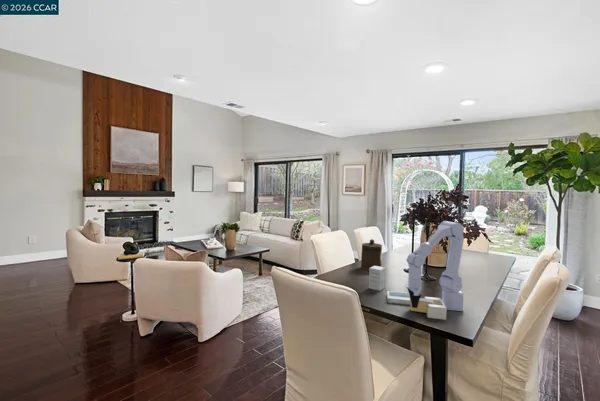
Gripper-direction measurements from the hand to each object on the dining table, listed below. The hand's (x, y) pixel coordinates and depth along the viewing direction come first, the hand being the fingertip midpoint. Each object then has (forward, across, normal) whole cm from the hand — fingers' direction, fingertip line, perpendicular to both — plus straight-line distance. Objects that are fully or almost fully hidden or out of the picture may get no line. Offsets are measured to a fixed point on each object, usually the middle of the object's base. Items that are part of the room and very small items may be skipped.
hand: (413, 305), depth 149 cm
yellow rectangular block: (+2, 0, +4) cm, 4 cm away
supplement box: (+3, -30, -18) cm, 35 cm away
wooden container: (+3, -75, -22) cm, 78 cm away
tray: (+3, -13, -4) cm, 14 cm away
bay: (+3, 0, +10) cm, 10 cm away
